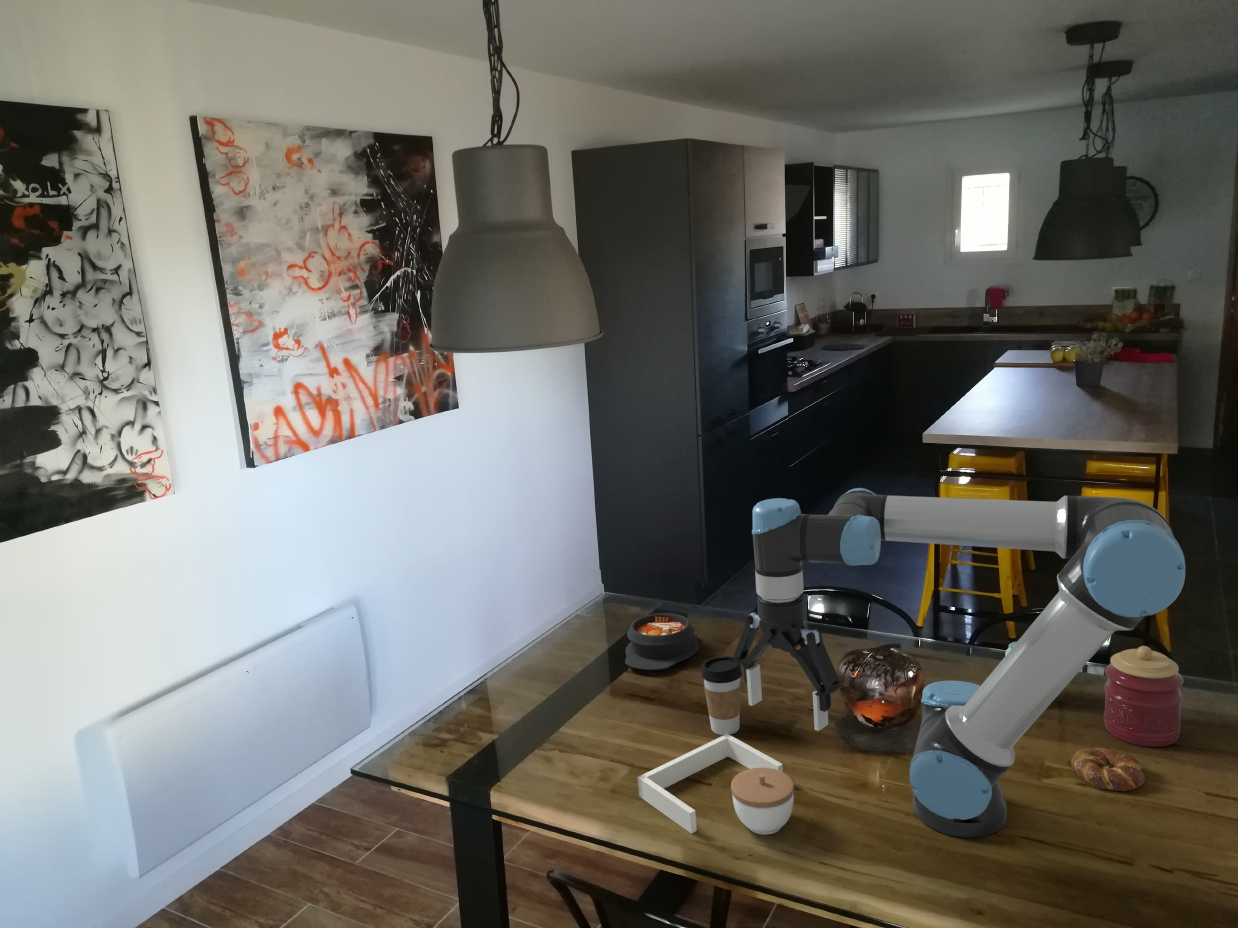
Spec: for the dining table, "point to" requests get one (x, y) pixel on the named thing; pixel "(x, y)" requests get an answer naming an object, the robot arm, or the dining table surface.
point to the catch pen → (691, 763)
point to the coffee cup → (722, 693)
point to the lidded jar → (763, 799)
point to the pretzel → (1108, 769)
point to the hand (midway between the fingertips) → (787, 714)
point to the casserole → (660, 641)
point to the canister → (1143, 698)
